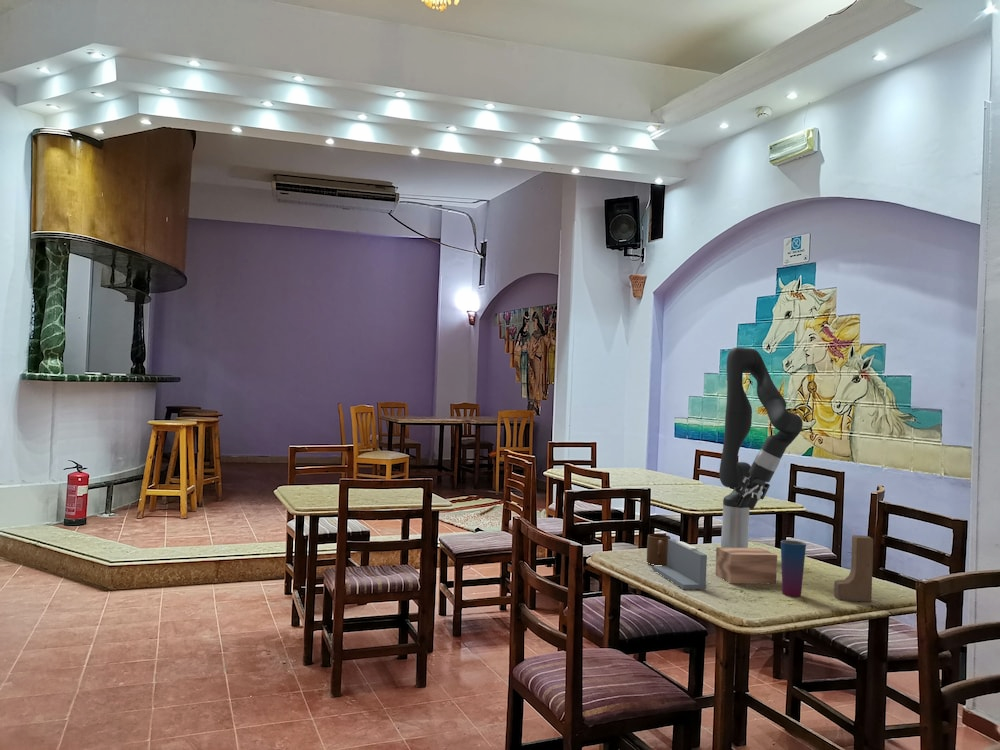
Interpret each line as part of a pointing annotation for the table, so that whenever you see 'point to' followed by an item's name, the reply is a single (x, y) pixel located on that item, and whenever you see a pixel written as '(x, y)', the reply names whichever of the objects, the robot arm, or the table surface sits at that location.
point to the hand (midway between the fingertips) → (743, 506)
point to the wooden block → (858, 572)
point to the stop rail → (684, 565)
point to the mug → (657, 549)
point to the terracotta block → (746, 565)
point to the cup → (792, 567)
